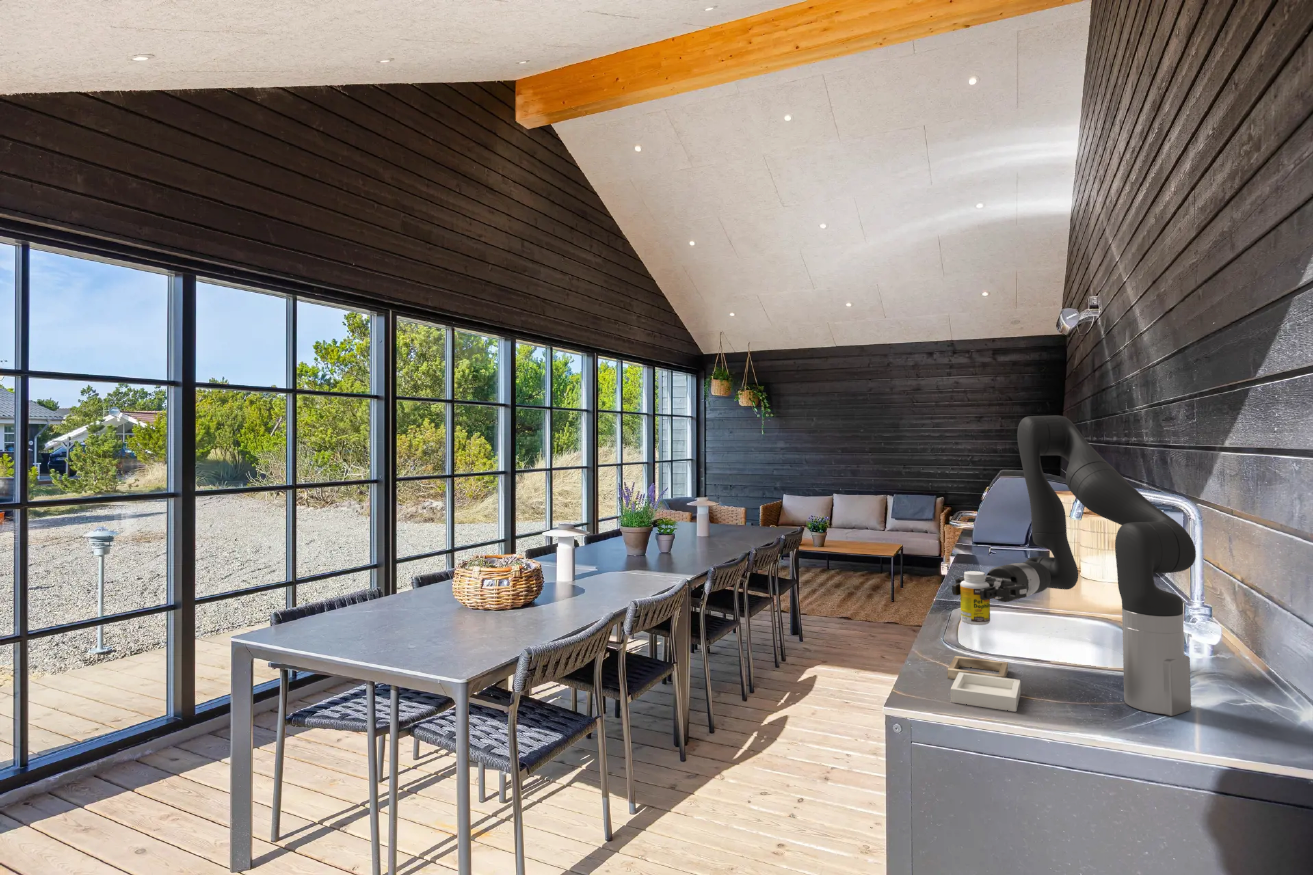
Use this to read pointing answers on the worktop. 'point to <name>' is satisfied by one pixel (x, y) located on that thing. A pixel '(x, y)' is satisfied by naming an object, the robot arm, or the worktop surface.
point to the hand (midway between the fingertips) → (968, 592)
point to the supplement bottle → (974, 599)
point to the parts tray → (986, 691)
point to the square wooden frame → (979, 664)
